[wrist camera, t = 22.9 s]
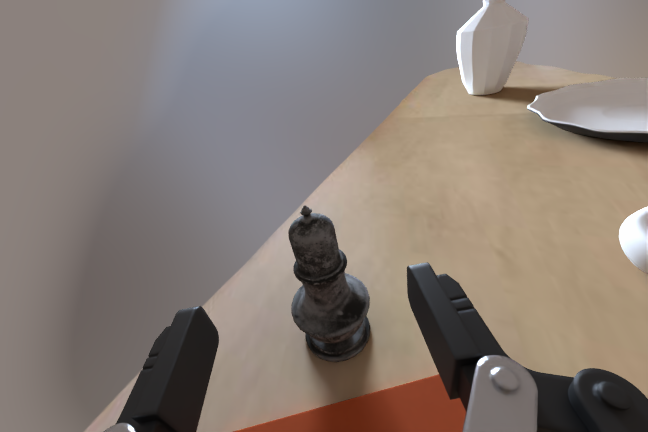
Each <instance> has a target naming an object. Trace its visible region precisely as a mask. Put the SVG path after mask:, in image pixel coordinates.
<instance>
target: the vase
mask: <svg viewBox="0 0 648 432" xmlns="http://www.w3.org/2000/svg"><path fill="white" fill-rule="evenodd" d="M483 5H484V6H483V8H481V9H480V10H479V11H478V12H477V13H476V14H475V15H474V16H473V17H472V18H471V19H470V20H469V21H468V22H467V23H466V24H465V25H464V26H463V27H462V28H461V29H460V30H459V31H458V32H457V43H456V47H457V58H458V63H459V67H460V72H461V77H462V81H463V84H464V85H465V87H466V89H467V91H468V94H471V95H487V94H493V93H496V92H499V91H501V90H502V88H503V87H504V85H505V84H506V82H507V80H508V77H509V75H510V73H511V70H512V68H513V66H514V64H515V62H516V59H517V57H518V55H519V53H520V51H521V48H522V45H523V43H524V40H525V37H526V32H527V26H528V21H529V19H528V18H527V17H526V16H524V15H523V14H521V13H520V12H518V11H517V10H516V9H514V8H513V7H511V6H510V5H508V4H507V3H505V0H483Z"/></svg>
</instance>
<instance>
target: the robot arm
mask: <svg viewBox="0 0 648 432" xmlns="http://www.w3.org/2000/svg"><path fill="white" fill-rule="evenodd" d="M407 287H408V298H409V302H410V306H411V309H412V311H413V313H414V316H415V318H416V320H417V323H418V325H419V327H420V330H421V332H422V335H423V337H424V339H425V342H426V344H427V346H428V349H429V351H430V353H431V356H432V358H433V361H434V363H435V365H436V368H437V370H438V372H439V375H440V377H441V379H442V382H443V384H444V386H445V389H446V391H447V394H448V396H449V398H450V400H452V399H458V398H460V399H461V402H462V404H463V406H464V408H465V410H466V415H465V420H464V425H463V430H462V432H648V399H647V398H646V397H645V395H644V394H643V393H642V392H641V391H640V390H639V389H637V388H636V387H635V386H634V385H633V384H631V383H630V382H628V381H627V380H625V379H624V378H622V377H620V376H618V375H616V374H614V373H611V372H609V371H606V370H601V369H595V368H589V369H584V370H582V371H580V372H578V373H577V375H576V376H575V378H573V377H566V376H560V375H553V374H546V373H540V372H535V371H532V370H529V369H527V368H525V367H523V366H521V365H520V364H519V363H517V362H516V361H514V360H512V359H511V358H510V357H509V356H508V355H507V354H506V353H505V352H504V351H503V350H502V348H501V347H500V345H499V344H498V342H497V341H496V339H495V338H494V336H493V335H492V333H491V332H490V330H489V329H488V327H487V326H486V324H485V323H484V321H483V320H482V318H481V317H480V315H479V313H478V312H477V310H476V309H474V307H473V304H472V303H471V301H470V300H469V298H467V295H466V294H465V292H464V291H463V289H462V288H461V286H460V285H459V283H458V282H456V281H455V280H454V279H452V278H451V277H450V276H448V275H447V274H442V275H437V276H436V274H435V272H434V271H433V269H432V267H431V266H430V264H429V263H422V264H416V265H411V266H408V267H407ZM218 343H219V336H218V331H217V329H216V327H215V326H214V324H213V323H212V321H211V320H210V318H209V317H208V315H207V314H206V312H205V310H204V309H203V308H202V307H201V306H198V307H193V308H188V309H182V310H179V311H178V312H177V313H176V316H175V318H174V320H173V322H172V324H171V326H169V327H166V328H165V329H164V331H163V332H162V333H161V334H160V336H159V337H158V338H157V339H156V340H155V342H154V345H153V347H152V349H151V351H150V353H149V358H147V359H146V362H145V364H144V366H143V370H142V371H141V372H140V374H139V377H138V379H137V381H136V383H135V385H134V387H133V389H132V392H131V394H130V396H129V398H128V400H127V402H126V404H125V407H124V409H123V411H122V413H121V415H120V417H119V419H118V421H117V423H116V424H115V425H113V426H112V427H110V428H108V429H107V430H105V431H104V432H196V430H197V426H198V422H199V418H200V415H201V411H202V407H203V403H204V399H205V395H206V391H207V387H208V383H209V379H210V375H211V371H212V368H213V364H214V360H215V356H216V352H217V348H218Z"/></svg>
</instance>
